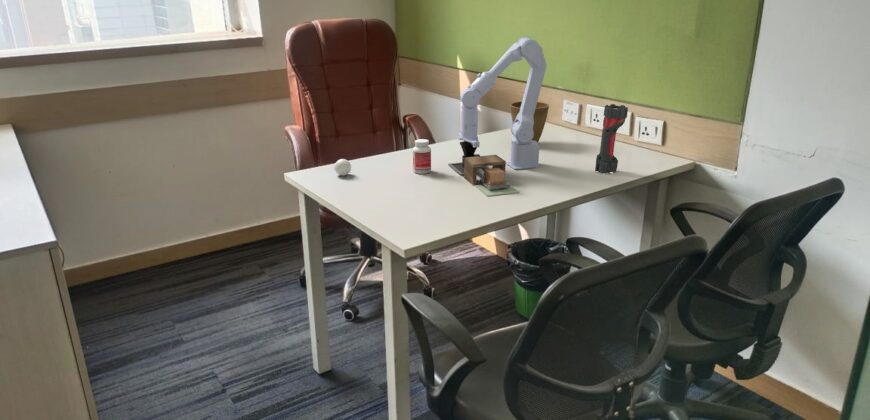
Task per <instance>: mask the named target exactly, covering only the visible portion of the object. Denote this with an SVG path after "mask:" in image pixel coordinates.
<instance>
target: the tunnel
mask: <svg viewBox="0 0 870 420" xmlns="http://www.w3.org/2000/svg"><path fill="white" fill-rule="evenodd" d="M506 162H507V161H506V160H505V159H503V158H502V157H500V156H499V155H498V154H489V155H480V156H477V157H467V158H464V176H463V178H464V179H465V180H466V181H467V182H468V183H469V184H471V185H472V186H475V185H477V175H478V174H477V167H483V166H488V167H489V166H491V167H492V168H500V169H501V170H503V171H504V172H505V173H506V166H507V164H506Z"/></svg>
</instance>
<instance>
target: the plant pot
mask: <svg viewBox="0 0 870 420" xmlns="http://www.w3.org/2000/svg"><path fill="white" fill-rule="evenodd" d="M521 104H522V101H514V102H512V103H510V105H509V106H510V107H509V108H510V114H511V121H512V124H513V123H514V122H515V120H516V117H517V115H518V113H519V112H520V108H521ZM549 107H550V105H549V104H548V103H546V102H541V101H537V105H536V109H535V112H534V116H533V119H534V125H533V132H534V136H533V139H532V140H535V141H537V143H538V144H539V141H540V140H541V137H542V134H543V132H544V127H545V125H546V121H547V117H548V114H549V113H548V112H549V110H550V109H549Z"/></svg>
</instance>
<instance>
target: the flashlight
mask: <svg viewBox="0 0 870 420" xmlns="http://www.w3.org/2000/svg"><path fill="white" fill-rule="evenodd" d="M628 109H629V108H628V107H627V106H626V105H624V104H623V105H622V104H621V105H616V104H615V103H611V104H609V105H608V104H606V105H604V111H603V116H604V117H603V121H602V129H601V131H602V132H601V140H600V147H599V148H600V149H599V153H598V154H597V155H596V159H595V167H594V171H595V172H596V171H599V172H598V173H601V174H603V173H605V174H606V173H609V172H614V171H616V170H618V164H619V159H618V158H617V157H616V156H615V155H614V149H615V144H616V136H617V135H616V134H617V131H618V130H619V129H620V128H621V127H622V126H623V125H624V124H625V122H626V119H627V118H628V113H629V111H628ZM616 172H617V171H616ZM614 173H615V172H614Z"/></svg>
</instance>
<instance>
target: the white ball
mask: <svg viewBox="0 0 870 420" xmlns="http://www.w3.org/2000/svg"><path fill="white" fill-rule="evenodd" d="M334 171H335V172H336V174H338V175H339V176H343V177H344V176H347V175H349V174H350V173H351V171H352V165H351V162H350V161H349V160H347V159H345V158H340V159H337V161H336V162H335V163H334Z"/></svg>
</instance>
